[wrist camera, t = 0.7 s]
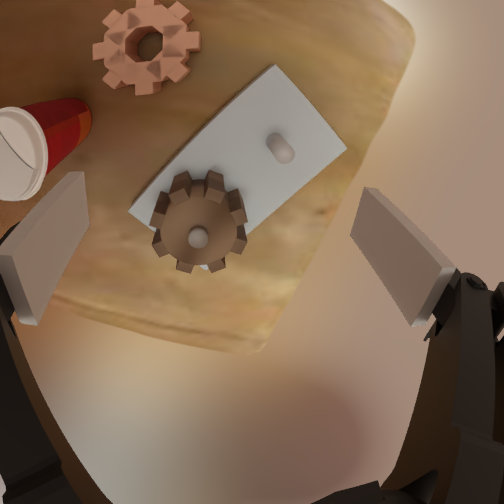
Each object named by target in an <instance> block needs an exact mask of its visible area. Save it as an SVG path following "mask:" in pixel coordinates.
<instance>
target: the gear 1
mask: <svg viewBox="0 0 504 504" xmlns="http://www.w3.org/2000/svg"><path fill="white" fill-rule="evenodd" d="M192 20H193V18H192V15H191V13H190V11H189V10H188V9H187V8H185V7H184V6H183V5H182V4H181V3H179V2H178V1H177V2H175V3H174V4H173V5H172V6H171V7H170V8H169V9H167V8H166V7H164V6H163V5H162V4H161V2H160V1H159V0H136V8H132V9H127V10H126V11H125V12H124V13H123V14H122V13H120V12H119V11H117V10H115V9H114V10H113V11H112V12H111V13H110V14H109V15H108V16H107V17H106V18H105V19H104V20H103V21H102V23H103V24H105V25H106V26H107V27H108V28H109V30H108V31H107V32H106V33H105V34H104V42H101V43H96V44H93V60H104V66H105V67H106V68H108V69H109V71H108V72H107V74H106V75H105V76H104V77H103V79H102V80H103V81H104V82H105V83H107V84H108V85H109V86H110V87H111V88H113V89H117V88H121V87H125V86H128V85H130V84H135V96H136V95H146V94H154V93H156V92H158V91H160V90H162V88H161V81H164V80H168V79H169V78H170V79H171V80H173V81H174V82H175V83H177V82H180V81H181V80H183V79H184V78H185V77H186V76H187V75H188V74H189V73H190V72H191V71H192V70H191V69H190V68H189V67H188V66H187V65H186V64H185V62H186V61H188V60H189V59H190V52H197V51H201V35H200V33H199V31H196V32H190V30H189V28H188V26H187V25H188V24H189V23H190V22H191V21H192ZM153 32H160V33H162V34H163V50H162V51H161V52H160V53H159V54H158V55H157V56H156V57H155V58H154V59H153V60H152V61H146V62H145V61H144V60H142V59H141V58H140V57H139V56H138V42H139V41H140V40H141V39H142V38H143V37H144V36H145V35H146V34H147V33H153Z"/></svg>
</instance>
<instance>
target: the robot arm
mask: <svg viewBox="0 0 504 504" xmlns="http://www.w3.org/2000/svg"><path fill="white" fill-rule="evenodd" d="M89 226H90V222H89V215H88V207H87V198H86V188H85V178H84V171H78V172H69V173H68V174H66V175H65V176H64V177H63V178H62V179H61V180H60V181H59V182H58V183H57V184H56V185H55V186H54V187H53V188H52V189H51V190H50V191H49V192H48V193H47V194H46V195H45V196H44V197H43V198H42V199H41V200H40V201H39V202H38V203H37V204H36V205H35V207H34V208H33V209H32V210H31V211H30V212H29V213H28V214H27V215H26V216H25V217H24V219H23V220H22V221H21V222H18V223H17V224H15V225H14V226H12V227H11V228H10V229H9V230H8V231H7V232H6V233H5V234H4V236H3V237H2V238H1V239H0V474H1V476H2V479H3V481H4V483H5V486H6V492H5V493H4V494H3V496H2V497H3V504H113V503H112V502H111V501H110V500H109V499H108V498H106V496H105V495H104V494H103V492H102V491H101V490H100V489H99V487H98V486H97V485H96V483H95V482H94V480H93V479H92V478H91V476H90V475H89V473H88V472H87V471H86V469H85V468H84V466H83V465H82V463H81V462H80V460H79V459H78V457H77V456H76V454H75V452H74V451H73V449H72V448H71V446H70V444H69V443H68V441H67V439H66V438H65V436H64V434H63V433H62V431H61V429H60V428H59V426H58V424H57V422H56V420H55V418H54V417H53V415H52V413H51V411H50V409H49V407H48V406H47V403H46V401H45V399H44V397H43V395H42V393H41V391H40V389H39V387H38V385H37V383H36V380H35V378H34V376H33V374H32V372H31V369H30V367H29V364H28V362H27V360H26V357H25V355H24V352H23V350H22V347H21V345H20V342H19V339H18V336H17V333H16V331H15V328H14V325H13V323H12V321H11V319H10V318H11V316H12V314H13V312H14V311H15V312H16V314H17V316H18V319H19V321H20V323H24V324H30V325H39V322H40V320H41V318H42V316H43V313H44V311H45V309H46V307H47V305H48V303H49V300H50V298H51V296H52V294H53V292H54V290H55V288H56V286H57V284H58V282H59V280H60V278H61V276H62V274H63V272H64V270H65V269H66V267H67V265H68V263H69V261H70V259H71V257H72V256H73V254H74V252H75V250H76V248H77V247H78V245H79V243H80V241H81V240H82V238H83V236H84V234H85V233H86V231H87V229H88V228H89ZM350 236H351V237H352V239H353V240H354V242H355V243H356V244H357V246H358V247H359V249H360V250H361V251H362V253H363V254H364V256H365V257H366V259H367V260H368V262H369V263H370V264H371V266H372V267H373V269H374V270H375V272H376V273H377V275H378V276H379V278H380V279H381V281H382V282H383V284H384V285H385V287H386V288H387V290H388V291H389V293H390V294H391V296H392V298H393V299H394V301H395V302H396V304H397V305H398V307H399V309H400V310H401V312H402V313H403V315H404V317H405V318H406V320H407V321H408V323H409V324H410V326H411V327H412V326H419V325H425V324H426V322H427V321H428V319H429V317H430V316H431V314H432V313H433V315H434V316H435V318H436V321H435V322H434V324H433V325H432V327H431V329H430V330H429V332H428V333H427V335H426V336H425V338H424V341H426V340H427V339H428V338H430V342H429V347H428V352H427V357H426V362H425V367H424V371H423V376H422V380H421V384H420V388H419V392H418V396H417V400H416V403H415V407H414V411H413V414H412V418H411V421H410V425H409V427H408V431H407V434H406V437H405V440H404V443H403V446H402V449H401V451H400V455H399V457H398V460H397V462H396V466H395V468H394V469H393V471H392V473H391V474H390V475H389V477H388V478H387V479H386V480H385V482H384V483H383V484H382V486H381V487H380V486H379V483H378V481H374V482H370V483H367V484H364V485H360V486H356V487H353V488H349V489H345V490H341V491H337V492H334V493H333V494H331V495H328V496H326V497H324V498H322V499H320V500H318V501H316V502H314V503H311V504H504V336H503V337H502V339H501V340H500V341H498V339H497V336H498V335H499V334H500V332H501V331H502V329H503V328H504V282H500V283H499V285H498V286H497V288H496V290H495V291H490V290H488V288H487V286H486V284H485V283H484V282H483V281H482V280H481V279H480V278H479V277H477V276H475V275H474V274H471V273H462V274H461V273H460V271H459V270H458V269H457V268H456V267H455V266H454V264H453V263H452V262H451V261H450V260H449V259H448V258H447V257H446V256H445V255H444V253H443V252H442V251H441V250H440V249H439V248H438V247H437V246H436V245H435V244H434V243H433V242H432V241H431V240H430V239H429V238H428V237H427V236H426V235H425V234H424V233H423V232H422V231H421V230H420V229H419V228H418V227H417V226H416V225H415V224H414V223H413V222H412V221H411V220H410V219H409V218H408V217H407V216H406V215H405V214H404V213H403V212H402V211H401V210H399V209H398V208H397V207H396V206H395V205H394V204H393V203H392V202H391V201H390V200H389V199H388V198H386V197H385V196H384V195H383V194H382V193H381V192H380V191H379V190H378V189H375V188H368V187H364V189H363V193H362V197H361V200H360V203H359V207H358V210H357V214H356V217H355V220H354V224H353V227H352V230H351V234H350Z"/></svg>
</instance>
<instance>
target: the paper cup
mask: <svg viewBox="0 0 504 504" xmlns="http://www.w3.org/2000/svg"><path fill="white" fill-rule="evenodd" d="M91 124H92V116H91V112H90V110H89V108H88V106H87V105H86V104H85V103H84V102H83V101H81V100H79V99H76V98H65V99H58V100H52V101H46V102H40V103H36V104H32V105H28V106H24V107H20V108H17V107H5V108H1V109H0V200H5V201H8V200H10V201H19V200H27V199H29V198H31V197H32V196H33V195H35V194H36V193H37V191H38V190H39V189H40V187H41V184H42V182H43V179H44V177H45V176H46V175H47V174H48V173H49V172H50V171H51V170H52V169H53V168H54V167H55V166H56V165H57V164H58V163H59V162H60V161H62V160H63V159H64V158H65V157H66V156H67V155H68V154H69V153H70V152H71V151H72V150H73V149H74V148H76V147H77V146H78V145H79V144H80V143H81V142H82V141H83V140H84V139H85V138H86V136H87V135H88V133H89V131H90V129H91Z"/></svg>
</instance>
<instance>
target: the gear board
mask: <svg viewBox="0 0 504 504" xmlns="http://www.w3.org/2000/svg"><path fill="white" fill-rule="evenodd" d="M346 149H347V148H346V146H345V145H344V144H343V142H342V141H341V140H340V139H339V137H338V136H337V135H336V133H335V132H334V131H333V130H332V128H331V127H330V126H329V125H328V123H327V122H326V121H325V120H324V119H323V117H322V116H321V115H320V114H319V112H318V111H317V110H316V109H315V108H314V107H313V105H312V104H311V103H310V102H309V101H308V100H307V98H306V97H305V96H304V95H303V94H302V93H301V92H300V90H299V89H298V88H297V87H296V86H295V85H294V84H293V83H292V81H291V80H290V79H289V78H288V77H287V76H286V75H285V74H284V73H283V72H282V71H281V70H280V69H279V67H278V66H277V65H276V64H272V65H270V66H269V67H268V68H267V69H266V70H264V71H263V72H262V73H261V74H260V75H259V76H257V77H256V78H255V79H254V80H253V81H252V82H250V83H249V84H248V85H247V86H246V87H245V88H244V89H243V90H241V91H240V92H239V93H238V94H237V95H236V96H235V97H234V98H233V99H231V100H230V101H229V102H228V103H227V104H226V105H225V106H224V107H223V108H222V109H221V110H220V111H219V112H218V113H217V114H215V115H214V116H213V117H212V118H211V119H210V120H209V121H208V122H207V123H206V124H205V125H204V126H203V127H202V128H201V129H200V130H199V131H198V132H197V133H196V134H195V135H194V136H193V137H192V138H191V139H190V140H189V141H188V142H187V143H186V144H185V145H184V146H183V147H182V148H181V149H180V151H179V152H178V153H177V154H176V155H175V156H174V157H173V158H172V159H171V160H170V161H169V162H168V163H167V164H166V165H165V167H164V168H163V169H162V170H161V171H160V172H159V173H158V174H157V175H156V176H155V178H154V179H153V180H152V181H151V182H150V183H149V184H148V186H147V187H146V188H145V189H144V190H143V191H142V192H141V194H140V195H139V196H138V197H137V198H136V199H135V201H134V202H133V203H132V204H131V206H130V208H129V210H128V212H129V213H131V214H132V215H133V216H134V217H136V218H137V219H138V220H140V221H141V222H142V223H143V224H145V225H146V226H147V227H149V228H150V229H151V230H153V231H154V232H155V231H156V228H155V227H152V226H149V223H150V220H151V217H152V214H153V211H154V208H155V205H156V202H157V200H158V197H159V194H160V191H163V192H166V193H169V191H170V188H171V184H172V181H173V178H174V176H176V175H178V174H181V173H183V172H185V171H187V170H188V172H189V174H190V176H191V178H192V180H196V179H204V180H205V178H206V175H207V173H208V171H209V170H211V171H214V172H217V173H220V174H222V175H223V178H224V187H225V190H226V191H227V192H229V191H232V190H234V189H237V188H238V190H239V192H240V194H241V197H242V199H243V202H244V206H245V211H246V215H247V220H248V222H247V223H244V228H245V232H246V235H247V234H248V233H249V232H251V231H252V230H253V229H254V228H255V227H256V226H258V225H259V224H260V223H261V222H262V221H263V220H264V219H266V218H267V217H268V216H269V215H270V214H271V213H273V212H274V211H275V210H276V209H277V208H278V207H279V206H281V205H282V204H283V203H284V202H285V201H286V200H288V199H289V198H290V197H291V196H292V195H293V194H295V193H296V192H297V191H298V190H299V189H300V188H302V187H303V186H304V185H305V184H306V183H307V182H309V181H310V180H311V179H312V178H313V177H314V176H316V175H317V174H318V173H319V172H320V171H321V170H323V169H324V168H325V167H326V166H327V165H328V164H330V163H331V162H332V161H333V160H334V159H336V158H337V157H338V156H339V155H340V154H341V153H343V152H344V151H345V150H346ZM199 266H200V267H202V268H203V269H204V270H207V269H208V266H207V265H199Z"/></svg>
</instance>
